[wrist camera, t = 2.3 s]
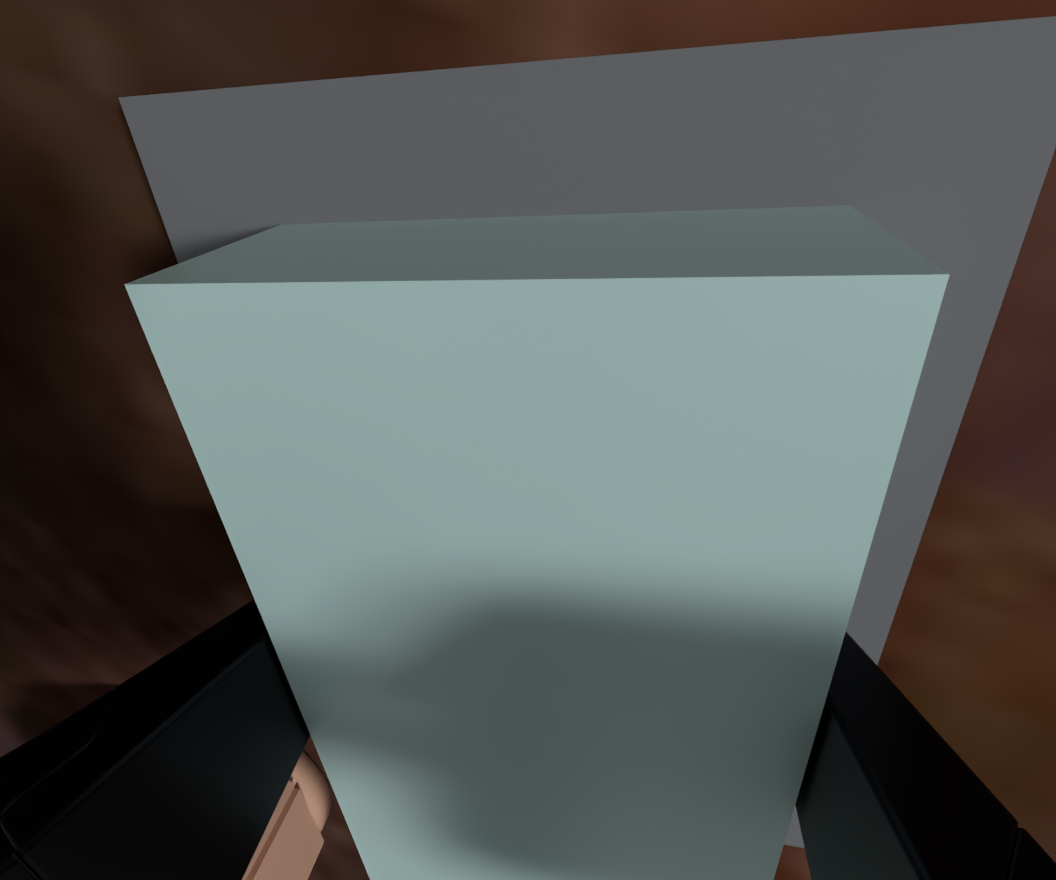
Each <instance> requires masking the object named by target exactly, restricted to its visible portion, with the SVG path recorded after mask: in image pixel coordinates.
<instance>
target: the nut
mask: <svg viewBox="0 0 1056 880" xmlns="http://www.w3.org/2000/svg"><path fill="white" fill-rule="evenodd" d="M331 809H332V794H331V791H330V787H329V785H328V783H327V781H326V779H325V777H324V775H323V774H322V772H321V771H320V770H319V768H318V767H317V765H316V764H315V763H314V762H313V761H312V760H311V759H310V757H309V756H308V755H307V754H305V753H304V752H302V754H301V756H300V758H299V760H298V762H297V764H296V766H295V768H294V771H293V773H292V775H291V777H290V779H289V781H288V783H287V785H286V787H285V790H284V792H283V794H282V796H281V798H280V800H279V802H278V804H277V807H276V809H275V811H274V813H273V815H272V817H271V819H270V821H269V823H268V826H267V828H266V830H265V832H264V834H263V836H262V838H261V840H260V842H259V845H258V847H257V849H256V851H255V853H254V855H253V857H252V859H251V862H250V864H249V866H248V868H247V870H246V872H245V874H244V876H243V878H242V880H307V879H308V877H309V875H310V872H311V870H312V868H313V866H314V864H315V861H316V859H317V857H318V855H319V852H320V850H321V848H322V846H323V842H324V840H323V838H322V836H321V831H322V829H323V827H324V825H325V822H326V820H327V818H328V816H329V814H330V811H331Z"/></svg>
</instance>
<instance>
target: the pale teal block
mask: <svg viewBox="0 0 1056 880" xmlns="http://www.w3.org/2000/svg"><path fill="white" fill-rule="evenodd" d="M949 275H950V274H949V273H947V272H946V271H944V270H943V269H941V268H940V267H938V266H937V265H936V264H934V263H933V262H931V261H930V260H928V259H927V258H925V257H924V256H923V255H921V254H920V253H918V252H917V251H915V250H914V249H912V248H911V247H910V246H908V245H907V244H905V243H904V242H902V241H901V240H899V239H898V238H897V237H895V236H894V235H892V234H891V233H889V232H888V231H886V230H885V229H884V228H882V227H881V226H879V225H878V224H876V223H875V222H873V221H872V220H870V219H869V218H868V217H866V216H865V215H863V214H862V213H860V212H859V211H857V210H856V209H855V208H853V207H852V206H850V205H841V206H812V207H782V208H753V209H723V210H694V211H665V212H635V213H606V214H576V215H547V216H517V217H488V218H458V219H429V220H399V221H370V222H340V223H311V224H282V225H279V226H276V227H273V228H271V229H268V230H265V231H263V232H260V233H258V234H255V235H252V236H250V237H247V238H244V239H242V240H239V241H237V242H234V243H231V244H229V245H226V246H224V247H221V248H218V249H216V250H213V251H210V252H208V253H205V254H203V255H200V256H197V257H195V258H192V259H189V260H187V261H184V262H182V263H179V264H176V265H174V266H171V267H169V268H166V269H163V270H161V271H158V272H155V273H153V274H150V275H148V276H145V277H142V278H140V279H137V280H134V281H132V282H129V283H127V284H124V285H125V287H126V290H127V292H128V294H129V297H130V299H131V302H132V304H133V307H134V309H135V311H136V314H137V316H138V319H139V321H140V323H141V326H142V328H143V331H144V333H145V336H146V338H147V340H148V343H149V345H150V348H151V350H152V353H153V355H154V357H155V360H156V362H157V365H158V367H159V369H160V372H161V374H162V377H163V379H164V382H165V384H166V386H167V389H168V391H169V394H170V396H171V399H172V401H173V403H174V406H175V408H176V411H177V413H178V415H179V418H180V420H181V423H182V425H183V428H184V430H185V432H186V435H187V437H188V440H189V442H190V445H191V447H192V449H193V452H194V454H195V457H196V459H197V461H198V464H199V466H200V469H201V471H202V474H203V476H204V478H205V481H206V483H207V486H208V488H209V491H210V493H211V495H212V498H213V500H214V503H215V505H216V507H217V510H218V512H219V515H220V517H221V520H222V522H223V524H224V527H225V529H226V532H227V534H228V537H229V539H230V541H231V544H232V546H233V549H234V551H235V553H236V556H237V558H238V561H239V563H240V566H241V568H242V570H243V573H244V575H245V578H246V580H247V583H248V585H249V587H250V590H251V592H252V595H253V597H254V599H255V602H256V604H257V607H258V609H259V612H260V614H261V616H262V619H263V621H264V624H265V626H266V629H267V631H268V633H269V636H270V638H271V641H272V643H273V645H274V648H275V650H276V653H277V655H278V658H279V660H280V662H281V665H282V667H283V670H284V672H285V675H286V677H287V679H288V682H289V684H290V687H291V689H292V692H293V694H294V696H295V699H296V701H297V704H298V706H299V708H300V711H301V713H302V716H303V718H304V721H305V723H306V725H307V728H308V730H309V733H310V735H311V738H312V740H313V742H314V745H315V747H316V750H317V752H318V754H319V757H320V759H321V762H322V764H323V767H324V769H325V771H326V774H327V776H328V779H329V781H330V784H331V786H332V788H333V791H334V793H335V796H336V798H337V800H338V803H339V805H340V808H341V810H342V813H343V815H344V817H345V820H346V822H347V825H348V827H349V830H350V832H351V834H352V837H353V839H354V842H355V844H356V846H357V849H358V851H359V854H360V856H361V859H362V861H363V863H364V866H365V868H366V871H367V873H368V876H369V878H370V880H773V879H774V876H775V872H776V869H777V865H778V862H779V859H780V855H781V852H782V848H783V845H784V841H785V838H786V835H787V831H788V828H789V824H790V821H791V817H792V814H793V811H794V807H795V804H796V800H797V797H798V793H799V790H800V787H801V783H802V780H803V776H804V773H805V769H806V766H807V763H808V759H809V756H810V752H811V749H812V745H813V742H814V739H815V735H816V732H817V728H818V725H819V721H820V718H821V714H822V711H823V708H824V704H825V701H826V697H827V694H828V690H829V687H830V684H831V680H832V677H833V673H834V670H835V666H836V663H837V660H838V656H839V653H840V649H841V646H842V642H843V639H844V636H845V632H846V629H847V625H848V622H849V618H850V615H851V612H852V608H853V605H854V601H855V598H856V594H857V591H858V588H859V584H860V581H861V577H862V574H863V570H864V567H865V563H866V560H867V557H868V553H869V550H870V546H871V543H872V539H873V536H874V533H875V529H876V526H877V522H878V519H879V515H880V512H881V509H882V505H883V502H884V498H885V495H886V491H887V488H888V485H889V481H890V478H891V474H892V471H893V467H894V464H895V461H896V457H897V454H898V450H899V447H900V443H901V440H902V437H903V433H904V430H905V426H906V423H907V419H908V416H909V412H910V409H911V406H912V402H913V399H914V395H915V392H916V388H917V385H918V382H919V378H920V375H921V371H922V368H923V364H924V361H925V358H926V354H927V351H928V347H929V344H930V340H931V337H932V334H933V330H934V327H935V323H936V320H937V316H938V313H939V310H940V306H941V303H942V299H943V296H944V292H945V289H946V286H947V282H948V279H949Z"/></svg>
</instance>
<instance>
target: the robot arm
mask: <svg viewBox="0 0 1056 880" xmlns="http://www.w3.org/2000/svg"><path fill="white" fill-rule="evenodd" d="M309 737H310V733H309V730H308V728H307V725H306V723H305V721H304V718H303V716H302V713H301V711H300V708H299V706H298V704H297V701H296V699H295V696H294V694H293V692H292V689H291V687H290V684H289V682H288V679H287V677H286V675H285V672H284V670H283V667H282V665H281V662H280V660H279V658H278V655H277V653H276V650H275V648H274V645H273V643H272V641H271V638H270V636H269V633H268V631H267V629H266V626H265V624H264V621H263V619H262V616H261V614H260V612H259V609H258V607H257V604H256V602H255V599H254V600H252V601H251V602H249V603H248V604H246V605H245V606H243V607H241V608H240V609H238V610H237V611H235V612H234V613H232V614H230V615H229V616H227V617H226V618H224V619H223V620H221V621H219V622H218V623H216V624H215V625H213V626H212V627H210V628H208V629H207V630H205V631H204V632H202V633H201V634H199V635H197V636H196V637H194V638H193V639H191V640H190V641H188V642H186V643H185V644H183V645H182V646H180V647H179V648H177V649H175V650H174V651H172V652H171V653H169V654H168V655H166V656H164V657H163V658H161V659H160V660H158V661H157V662H155V663H153V664H152V665H150V666H149V667H147V668H146V669H144V670H142V671H141V672H139V673H138V674H136V675H135V676H133V677H131V678H130V679H128V680H127V681H125V682H123V683H122V684H120V685H119V686H117V687H116V688H115V691H109V692H108V693H106V694H104V695H103V696H101V697H100V698H98V699H97V700H95V701H93V702H92V703H90V704H89V705H87V706H86V707H84V708H82V709H81V710H79V711H78V712H76V713H74V714H73V715H71V716H69V717H68V718H66V719H65V720H63V721H61V722H60V723H58V724H56V725H55V726H53V727H52V728H50V729H48V730H47V731H45V732H43V733H42V734H40V735H38V736H37V737H35V738H33V739H31V740H30V741H28V742H26V743H25V744H23V745H21V746H19V747H18V748H16V749H14V750H12V751H11V752H9V753H7V754H6V755H4V756H2V757H0V880H242V878H243V876H244V874H245V872H246V870H247V868H248V866H249V864H250V862H251V859H252V857H253V855H254V853H255V851H256V849H257V847H258V845H259V842H260V840H261V838H262V836H263V834H264V832H265V830H266V828H267V826H268V823H269V821H270V819H271V817H272V815H273V813H274V811H275V809H276V807H277V804H278V802H279V800H280V798H281V796H282V794H283V792H284V790H285V787H286V785H287V783H288V781H289V779H290V777H291V775H292V773H293V771H294V768H295V766H296V764H297V762H298V760H299V758H300V756H301V754H302V752H303V749H304V747H305V745H306V743H307V741H308V739H309ZM795 806H796V811H797V815H798V820H799V824H800V829H801V834H802V838H803V843H804V847H805V852H806V857H807V861H808V866H809V870H810V875H811V880H1056V863H1055V862H1054V861H1053V859H1052V858H1051V857H1050V856H1049V855H1048V854H1047V853H1046V852H1045V851H1044V849H1043V848H1042V847H1041V846H1040V845H1039V844H1038V843H1037V842H1036V841H1035V839H1034V838H1033V837H1032V836H1031V835H1030V834H1029V833H1028V832H1027V831H1026V830H1025V829H1024V828H1018V821H1017V820H1016V819H1015V818H1014V817H1013V815H1012V814H1011V813H1010V812H1009V811H1008V810H1007V809H1006V808H1005V807H1004V806H1003V804H1002V803H1001V802H1000V801H999V800H998V799H997V798H996V797H995V796H994V794H993V793H992V792H991V791H990V790H989V789H988V788H987V787H986V786H985V784H984V783H983V782H982V781H981V780H980V779H979V778H978V777H977V776H976V774H975V773H974V772H973V771H972V770H971V769H970V768H969V767H968V766H967V765H966V763H965V762H964V761H963V760H962V759H961V758H960V757H959V756H958V755H957V753H956V752H955V751H954V750H953V749H952V748H951V747H950V746H949V745H948V743H947V742H946V741H945V740H944V739H943V738H942V737H941V736H940V735H939V733H938V732H937V731H936V730H935V729H934V728H933V727H932V726H931V725H930V723H929V722H928V721H927V720H926V719H925V718H924V717H923V716H922V715H921V714H920V712H919V711H918V710H917V709H916V708H915V707H914V706H913V705H912V704H911V702H910V701H909V700H908V699H907V698H906V697H905V696H904V695H903V694H902V692H901V691H900V690H899V689H898V688H897V687H896V686H895V685H894V684H893V682H892V681H891V680H890V679H889V678H888V677H887V676H886V675H885V674H884V672H883V671H882V670H881V669H880V668H879V667H878V666H877V665H876V664H875V663H874V661H873V660H872V659H871V658H870V657H869V656H868V655H867V654H866V653H865V651H864V650H863V649H862V648H861V647H860V646H859V645H858V644H857V643H856V641H855V640H854V639H853V638H852V637H851V636H850V635H849V634H848V633H847V631H846V632H845V636H844V639H843V642H842V646H841V649H840V653H839V656H838V660H837V663H836V666H835V670H834V673H833V677H832V680H831V684H830V687H829V690H828V694H827V697H826V701H825V704H824V708H823V711H822V714H821V718H820V721H819V725H818V728H817V732H816V735H815V739H814V742H813V745H812V749H811V752H810V756H809V759H808V763H807V766H806V769H805V773H804V776H803V780H802V783H801V787H800V790H799V793H798V797H797V800H796V804H795Z"/></svg>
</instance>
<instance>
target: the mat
mask: <svg viewBox="0 0 1056 880" xmlns="http://www.w3.org/2000/svg"><path fill="white" fill-rule="evenodd" d="M119 101H120V104H121V106H122V109H123V112H124V115H125V117H126V120H127V123H128V126H129V128H130V131H131V134H132V137H133V140H134V142H135V145H136V148H137V151H138V153H139V156H140V159H141V162H142V165H143V167H144V170H145V173H146V176H147V178H148V181H149V184H150V187H151V190H152V192H153V195H154V198H155V201H156V203H157V206H158V209H159V212H160V214H161V217H162V220H163V223H164V226H165V228H166V231H167V234H168V237H169V239H170V242H171V245H172V248H173V251H174V253H175V256H176V259H177V262H178V264H179V263H182V262H184V261H187V260H189V259H192V258H195V257H197V256H200V255H203V254H205V253H208V252H210V251H213V250H216V249H218V248H221V247H224V246H226V245H229V244H231V243H234V242H237V241H239V240H242V239H244V238H247V237H250V236H252V235H255V234H258V233H260V232H263V231H265V230H268V229H271V228H273V227H276V226H279V225H282V224H311V223H340V222H370V221H399V220H429V219H458V218H488V217H517V216H547V215H576V214H606V213H635V212H665V211H694V210H723V209H753V208H782V207H812V206H841V205H850V206H852V207H853V208H855V209H856V210H857V211H859V212H860V213H862V214H863V215H865V216H866V217H868V218H869V219H870V220H872V221H873V222H875V223H876V224H878V225H879V226H881V227H882V228H884V229H885V230H886V231H888V232H889V233H891V234H892V235H894V236H895V237H897V238H898V239H899V240H901V241H902V242H904V243H905V244H907V245H908V246H910V247H911V248H912V249H914V250H915V251H917V252H918V253H920V254H921V255H923V256H924V257H925V258H927V259H928V260H930V261H931V262H933V263H934V264H936V265H937V266H938V267H940V268H941V269H943V270H944V271H946V272H947V273H949V274H950V275H949V279H948V282H947V286H946V289H945V292H944V296H943V299H942V303H941V306H940V310H939V313H938V316H937V320H936V323H935V327H934V330H933V334H932V337H931V340H930V344H929V347H928V351H927V354H926V358H925V361H924V364H923V368H922V371H921V375H920V378H919V382H918V385H917V388H916V392H915V395H914V399H913V402H912V406H911V409H910V412H909V416H908V419H907V423H906V426H905V430H904V433H903V437H902V440H901V443H900V447H899V450H898V454H897V457H896V461H895V464H894V467H893V471H892V474H891V478H890V481H889V485H888V488H887V491H886V495H885V498H884V502H883V505H882V509H881V512H880V515H879V519H878V522H877V526H876V529H875V533H874V536H873V539H872V543H871V546H870V550H869V553H868V557H867V560H866V563H865V567H864V570H863V574H862V577H861V581H860V584H859V588H858V591H857V594H856V598H855V601H854V605H853V608H852V612H851V615H850V618H849V622H848V625H847V629H846V631H847V633H848V634H849V635H850V636H851V637H852V638H853V639H854V640H855V641H856V643H857V644H858V645H859V646H860V647H861V648H862V649H863V650H864V651H865V653H866V654H867V655H868V656H869V657H870V658H871V659H872V660H873V661H874V663H875V664H876V665H878V662H879V659H880V656H881V653H882V650H883V647H884V644H885V641H886V638H887V636H888V633H889V630H890V627H891V624H892V621H893V618H894V615H895V612H896V609H897V606H898V604H899V601H900V598H901V595H902V592H903V589H904V586H905V583H906V580H907V577H908V574H909V572H910V569H911V566H912V563H913V560H914V557H915V554H916V551H917V548H918V545H919V543H920V540H921V537H922V534H923V531H924V528H925V525H926V522H927V519H928V516H929V513H930V511H931V508H932V505H933V502H934V499H935V496H936V493H937V490H938V487H939V484H940V481H941V479H942V476H943V473H944V470H945V467H946V464H947V461H948V458H949V455H950V452H951V450H952V447H953V444H954V441H955V438H956V435H957V432H958V429H959V426H960V423H961V420H962V418H963V415H964V412H965V409H966V406H967V403H968V400H969V397H970V394H971V391H972V388H973V386H974V383H975V380H976V377H977V374H978V371H979V368H980V365H981V362H982V359H983V357H984V354H985V351H986V348H987V345H988V342H989V339H990V336H991V333H992V330H993V327H994V325H995V322H996V319H997V316H998V313H999V310H1000V307H1001V304H1002V301H1003V298H1004V295H1005V293H1006V290H1007V287H1008V284H1009V281H1010V278H1011V275H1012V272H1013V269H1014V266H1015V264H1016V261H1017V258H1018V255H1019V252H1020V249H1021V246H1022V243H1023V240H1024V237H1025V234H1026V232H1027V229H1028V226H1029V223H1030V220H1031V217H1032V214H1033V211H1034V208H1035V205H1036V202H1037V200H1038V197H1039V194H1040V191H1041V188H1042V185H1043V182H1044V179H1045V176H1046V173H1047V170H1048V168H1049V165H1050V162H1051V159H1052V156H1053V153H1054V150H1055V147H1056V16H1053V17H1041V18H1030V19H1018V20H1007V21H995V22H984V23H972V24H961V25H949V26H937V27H926V28H914V29H903V30H891V31H880V32H868V33H857V34H845V35H834V36H822V37H811V38H799V39H788V40H776V41H764V42H753V43H741V44H730V45H718V46H707V47H695V48H684V49H672V50H661V51H649V52H638V53H626V54H615V55H603V56H591V57H580V58H568V59H557V60H545V61H534V62H522V63H511V64H499V65H488V66H476V67H465V68H453V69H442V70H430V71H418V72H407V73H395V74H384V75H372V76H361V77H349V78H338V79H326V80H315V81H303V82H292V83H280V84H269V85H257V86H245V87H234V88H222V89H211V90H199V91H188V92H176V93H165V94H153V95H142V96H130V97H119ZM784 845H790V846H796V847H802V848H805V847H804V843H803V838H802V834H801V829H800V824H799V820H798V815H797V811H796V806H795V807H794V811H793V814H792V817H791V821H790V824H789V828H788V831H787V835H786V838H785V841H784Z"/></svg>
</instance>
